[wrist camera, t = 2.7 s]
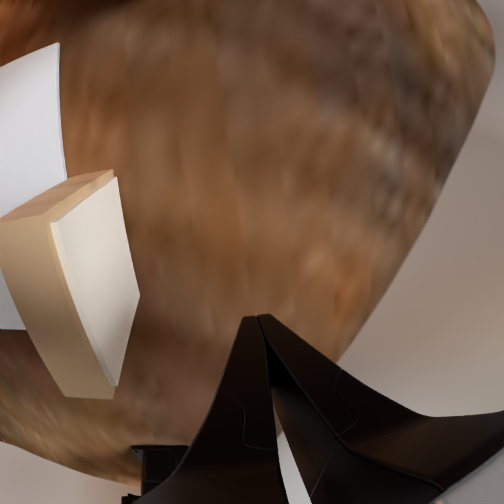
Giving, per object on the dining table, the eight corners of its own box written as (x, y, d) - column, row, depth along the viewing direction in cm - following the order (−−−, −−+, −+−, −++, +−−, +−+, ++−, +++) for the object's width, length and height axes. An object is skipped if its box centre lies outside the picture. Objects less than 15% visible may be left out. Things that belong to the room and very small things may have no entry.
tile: (142, 297, 18) (119, 399, 10) (102, 300, 17) (65, 396, 10) (117, 168, 14) (49, 213, 7) (72, 176, 14) (-13, 226, 7)
